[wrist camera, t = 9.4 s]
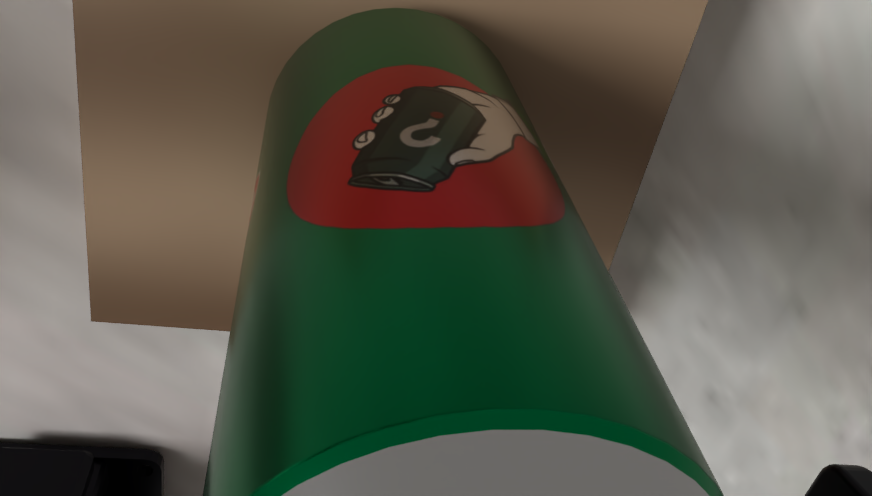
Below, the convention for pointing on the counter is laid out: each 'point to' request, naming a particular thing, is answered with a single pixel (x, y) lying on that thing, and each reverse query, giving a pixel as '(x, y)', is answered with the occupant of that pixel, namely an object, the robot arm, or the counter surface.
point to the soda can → (429, 295)
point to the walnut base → (247, 109)
